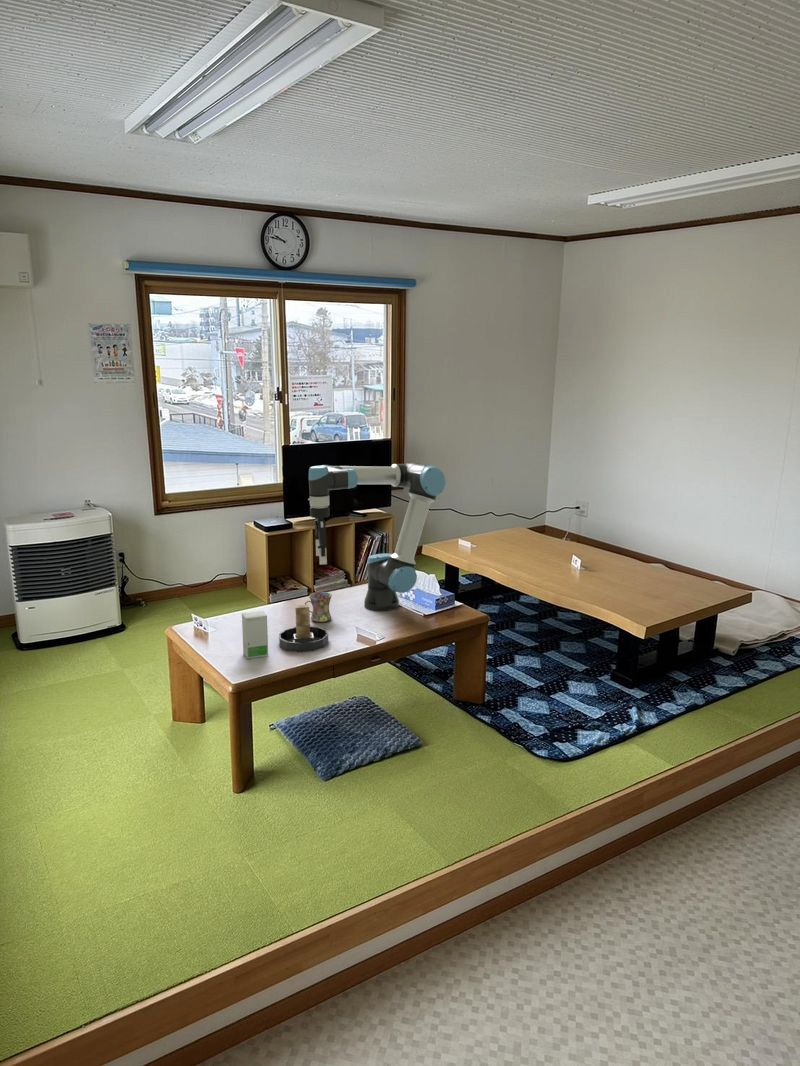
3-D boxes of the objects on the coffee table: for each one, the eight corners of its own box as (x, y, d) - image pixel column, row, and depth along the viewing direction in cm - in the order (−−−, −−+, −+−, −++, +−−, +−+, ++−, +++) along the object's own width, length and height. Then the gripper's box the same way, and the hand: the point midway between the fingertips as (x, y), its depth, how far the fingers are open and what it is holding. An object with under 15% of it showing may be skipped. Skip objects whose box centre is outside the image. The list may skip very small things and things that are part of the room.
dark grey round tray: (325, 633, 295) (324, 624, 294) (330, 649, 278) (330, 640, 277) (278, 636, 292) (278, 628, 291) (280, 654, 274) (280, 645, 273)
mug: (325, 614, 317) (324, 590, 314) (336, 620, 309) (335, 596, 307) (300, 620, 310) (299, 595, 308) (310, 626, 303) (310, 601, 300)
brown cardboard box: (309, 639, 286) (308, 604, 283) (310, 642, 284) (309, 607, 281) (296, 640, 285) (295, 605, 282) (297, 643, 283) (295, 608, 280)
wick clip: (313, 638, 288) (312, 632, 287) (314, 643, 283) (314, 637, 282) (293, 640, 286) (293, 634, 286) (294, 645, 281) (293, 638, 281)
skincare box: (246, 659, 269) (244, 618, 266) (242, 653, 275) (240, 612, 272) (269, 655, 273) (267, 615, 269) (265, 649, 279) (263, 609, 275)
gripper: (307, 501, 299) (308, 552, 304) (312, 513, 276) (314, 568, 280) (325, 500, 301) (327, 551, 306) (333, 512, 277) (334, 567, 282)
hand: (321, 559), depth 293 cm, fingers open, 13 cm apart
